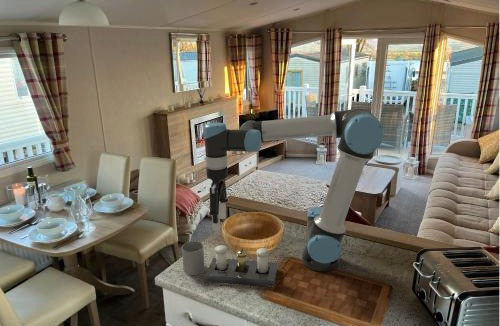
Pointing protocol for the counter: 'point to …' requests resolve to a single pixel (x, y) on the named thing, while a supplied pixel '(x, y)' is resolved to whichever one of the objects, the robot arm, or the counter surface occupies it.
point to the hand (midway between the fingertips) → (219, 224)
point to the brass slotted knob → (241, 259)
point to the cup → (193, 257)
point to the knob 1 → (221, 257)
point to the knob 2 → (262, 260)
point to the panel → (242, 274)
